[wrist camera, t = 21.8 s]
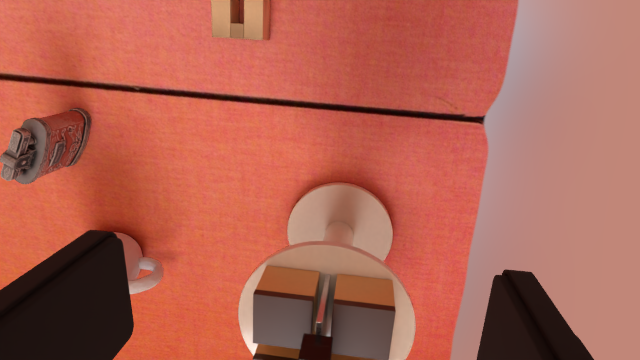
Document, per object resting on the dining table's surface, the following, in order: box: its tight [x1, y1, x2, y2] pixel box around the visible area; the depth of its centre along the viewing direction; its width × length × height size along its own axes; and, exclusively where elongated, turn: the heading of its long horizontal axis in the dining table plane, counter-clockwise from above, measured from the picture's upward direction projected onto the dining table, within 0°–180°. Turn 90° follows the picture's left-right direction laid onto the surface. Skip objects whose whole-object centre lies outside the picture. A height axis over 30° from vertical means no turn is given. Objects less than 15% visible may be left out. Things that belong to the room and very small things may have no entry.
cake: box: [253, 266, 396, 360], centre depth 33 cm, size 10×10×4 cm
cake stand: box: [238, 182, 416, 360], centre depth 43 cm, size 15×15×18 cm
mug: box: [114, 232, 164, 294], centre depth 51 cm, size 13×9×10 cm
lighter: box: [0, 108, 91, 184], centre depth 47 cm, size 8×3×10 cm, turn 151°
